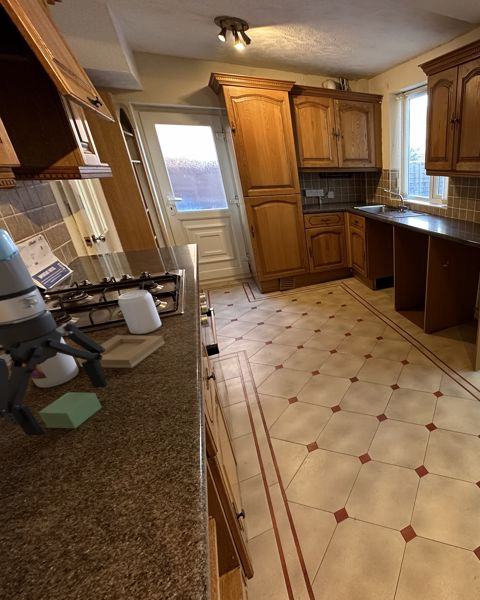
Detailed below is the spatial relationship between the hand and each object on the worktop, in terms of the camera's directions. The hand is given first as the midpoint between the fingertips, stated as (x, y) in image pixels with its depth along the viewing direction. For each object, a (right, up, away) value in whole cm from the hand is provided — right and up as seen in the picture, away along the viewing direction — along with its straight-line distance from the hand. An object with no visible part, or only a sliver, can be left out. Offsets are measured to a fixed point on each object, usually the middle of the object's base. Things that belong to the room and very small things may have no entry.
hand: (71, 408), depth 66 cm
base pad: (-8, +7, +23) cm, 25 cm away
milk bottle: (-16, +3, +13) cm, 21 cm away
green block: (0, -2, +1) cm, 3 cm away
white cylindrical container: (-12, +13, +36) cm, 40 cm away
